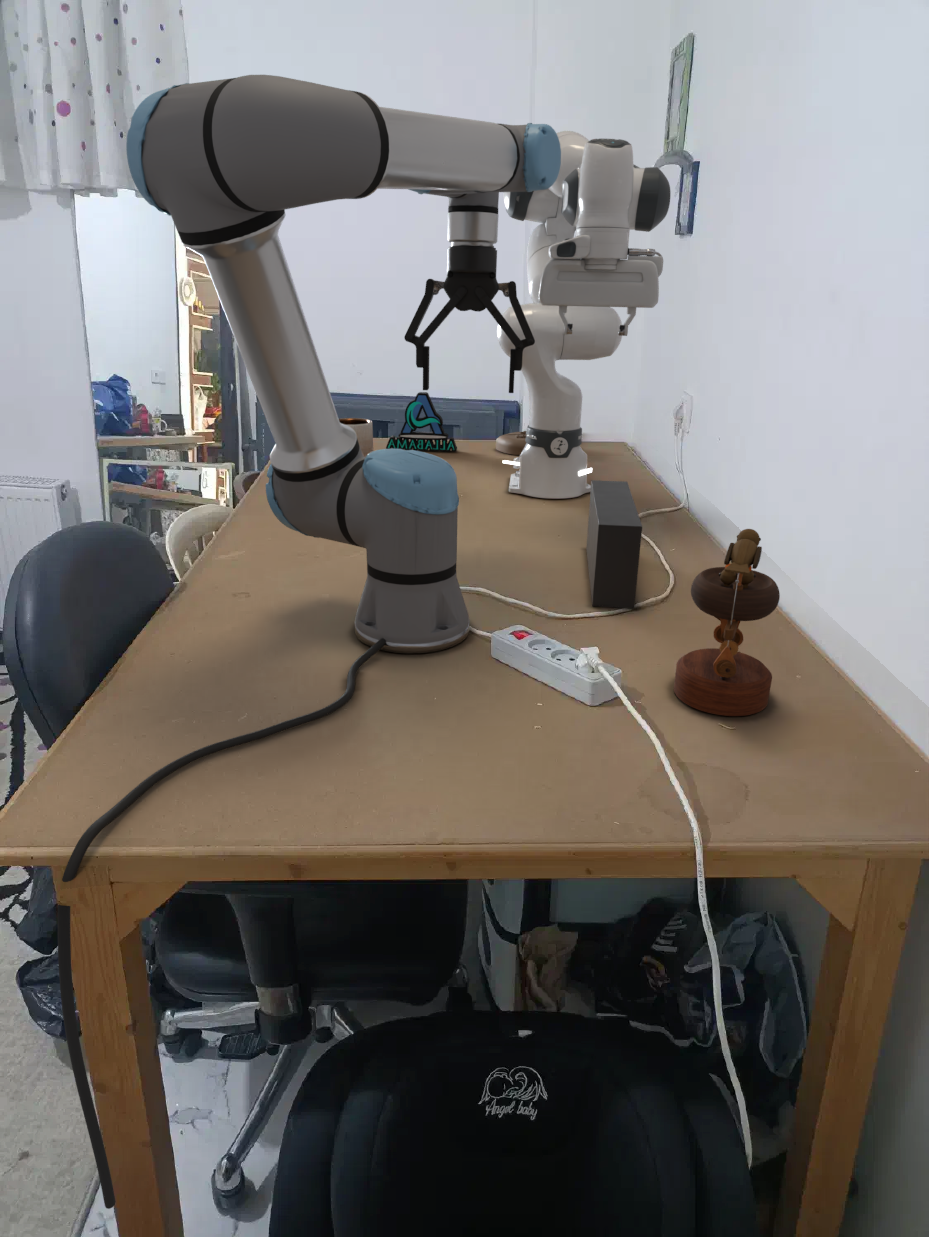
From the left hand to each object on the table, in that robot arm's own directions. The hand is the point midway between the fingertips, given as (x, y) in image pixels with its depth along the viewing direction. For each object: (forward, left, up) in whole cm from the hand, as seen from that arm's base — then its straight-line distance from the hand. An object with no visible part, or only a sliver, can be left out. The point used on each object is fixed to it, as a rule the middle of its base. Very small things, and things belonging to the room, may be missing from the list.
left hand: (468, 391), depth 135 cm
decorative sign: (+87, +21, -27) cm, 94 cm away
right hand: (+18, -20, +8) cm, 28 cm away
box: (-8, -24, -27) cm, 37 cm away
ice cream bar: (+87, -10, -27) cm, 92 cm away
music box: (-48, -34, -27) cm, 65 cm away
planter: (+72, +36, -27) cm, 85 cm away
